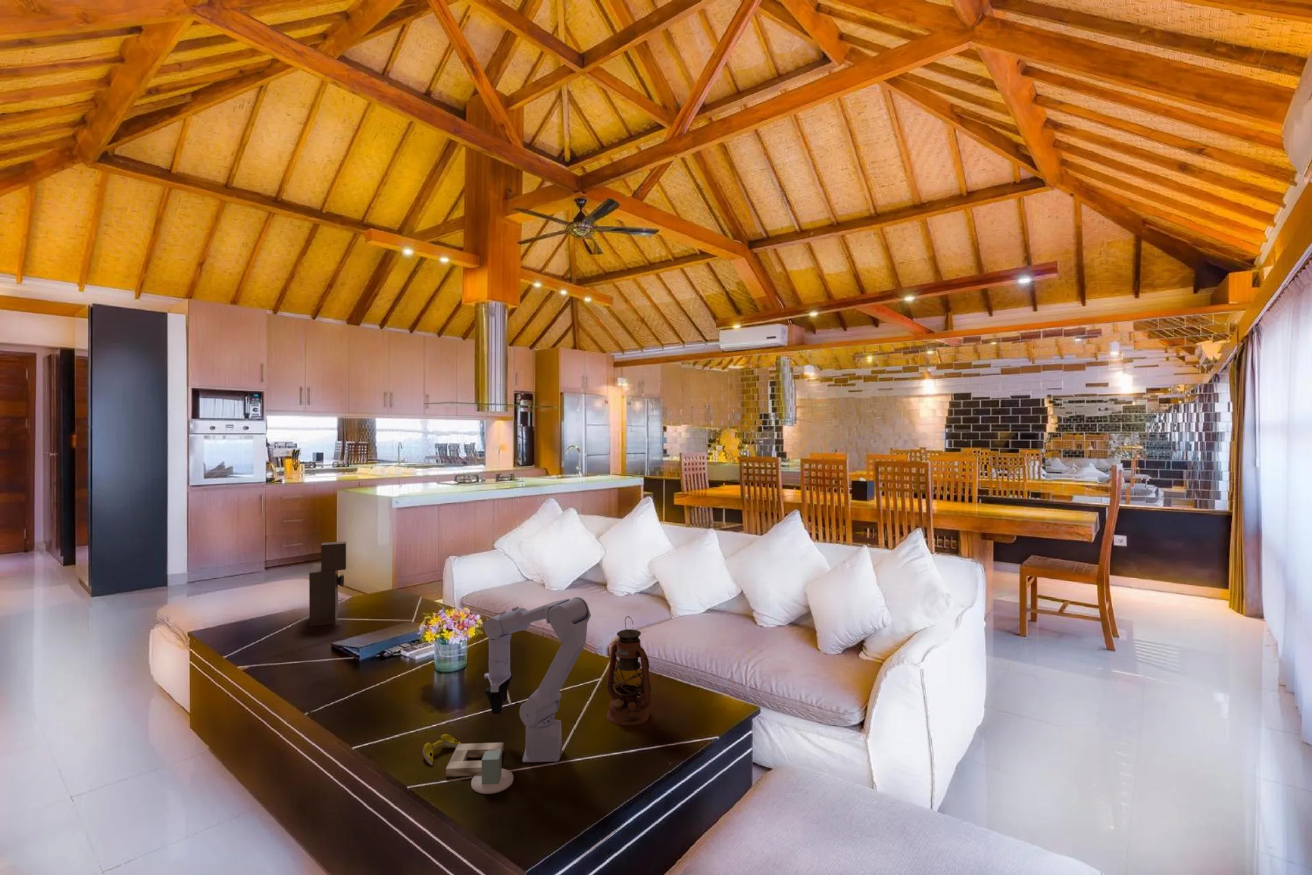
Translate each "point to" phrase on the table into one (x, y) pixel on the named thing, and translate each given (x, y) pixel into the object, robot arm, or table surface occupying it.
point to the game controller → (444, 740)
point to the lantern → (626, 698)
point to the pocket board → (463, 751)
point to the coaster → (492, 788)
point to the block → (491, 767)
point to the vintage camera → (326, 584)
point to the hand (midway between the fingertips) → (499, 707)
